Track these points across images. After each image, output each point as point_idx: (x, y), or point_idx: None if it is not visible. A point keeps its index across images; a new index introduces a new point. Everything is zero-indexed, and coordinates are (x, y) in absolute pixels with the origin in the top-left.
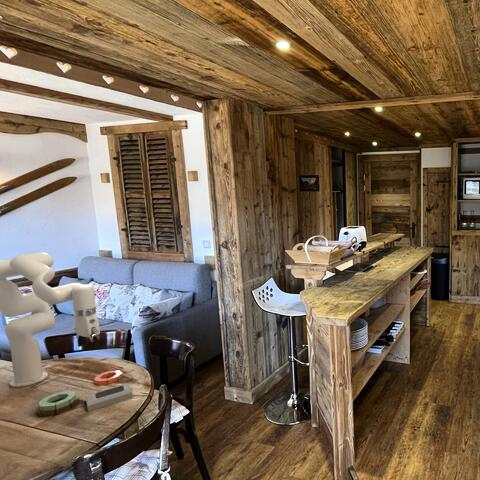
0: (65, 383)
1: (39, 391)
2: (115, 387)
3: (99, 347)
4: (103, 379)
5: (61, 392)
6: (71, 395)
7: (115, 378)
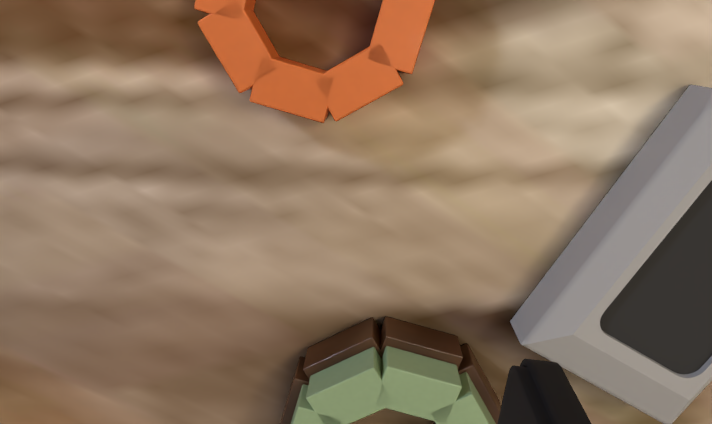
0: (32, 177)
1: (3, 314)
2: (688, 206)
3: (558, 366)
4: (352, 79)
5: (321, 404)
6: (453, 414)
7: (431, 11)
